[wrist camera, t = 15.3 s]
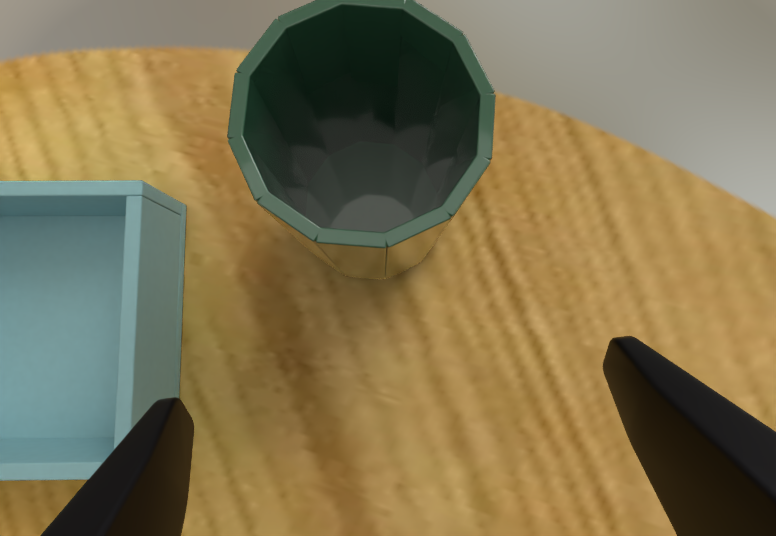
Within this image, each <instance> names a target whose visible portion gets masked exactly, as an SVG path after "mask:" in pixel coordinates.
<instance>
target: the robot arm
mask: <svg viewBox="0 0 776 536" xmlns="http://www.w3.org/2000/svg"><path fill="white" fill-rule="evenodd" d="M603 371H604V375H605V378H606V380H607V383H608V385H609V388H610V391H611V393H612V396H613V399H614V401H615V404H616V407H617V409H618V412H619V415H620V417H621V420H622V423H623V425H624V428H625V431H626V433H627V435H628V438H629V440H630V442H631V445H632V447H633V449H634V451H635V453H636V455H637V457H638V459H639V461H640V463H641V465H642V467H643V469H644V471H645V473H646V475H647V477H648V479H649V481H650V483H651V485H652V486H653V488H654V490H655V492H656V494H657V496H658V498H659V500H660V502H661V504H662V506H663V508H664V510H665V512H666V514H667V516H668V518H669V520H670V522H671V524H672V526H673V528H674V530H675V532H676V534H677V536H776V432H775V431H774V430H772V429H771V428H769V427H768V426H766V425H765V424H763V423H762V422H760V421H759V420H757V419H756V418H754V417H753V416H751V415H750V414H748V413H747V412H745V411H744V410H742V409H741V408H739V407H738V406H736V405H735V404H733V403H732V402H730V401H729V400H727V399H726V398H724V397H723V396H721V395H720V394H718V393H717V392H715V391H714V390H713V389H711V388H710V387H708V386H707V385H705V384H704V383H702V382H701V381H699V380H698V379H696V378H695V377H693V376H692V375H690V374H689V373H687V372H686V371H684V370H683V369H681V368H680V367H678V366H677V365H675V364H674V363H672V362H671V361H669V360H668V359H666V358H665V357H663V356H662V355H660V354H659V353H657V352H656V351H654V350H653V349H651V348H650V347H648V346H647V345H646V344H644V343H643V342H641V341H640V340H638V339H636V338H635V337H632V336H624V337H617V338H613V339H612V340H611V341H610V343H609V346H608V349H607V352H606V355H605V358H604V362H603ZM193 437H194V423H193V420H192V417H191V416H190V414H189V413H188V411H187V409H186V408H185V406H184V404H183V403H182V401H181V400H180V399H179V398H177V397H172V398H165V399H160V400H157V401H156V402H155V403H154V404H153V405H152V406H151V407H150V408H149V409H148V410H147V412H146V413H145V414H144V415H143V416H142V417H141V419H140V420H139V421H138V422H137V423H136V424H135V426H134V427H133V428H132V429H131V430H130V431H129V433H128V434H127V435H126V436H125V437H124V439H123V440H122V441H121V442H120V443H119V444H118V446H117V447H116V448H115V449H114V450H113V451H112V453H111V454H110V455H109V456H108V457H107V458H106V460H105V461H104V462H103V463H102V464H101V465H100V467H99V468H98V469H97V470H96V471H95V472H94V474H93V475H92V476H91V477H90V478H89V479H88V481H87V482H86V483H85V484H84V485H83V486H82V488H81V489H80V490H79V491H78V492H77V493H76V495H75V496H74V497H73V498H72V499H71V500H70V502H69V503H68V504H67V505H66V506H65V508H64V509H63V510H62V511H61V512H60V513H59V515H58V516H57V517H56V518H55V519H54V520H53V522H52V523H51V524H50V525H49V526H48V527H47V529H46V530H45V531H44V532H43V533H42V534H41V536H181V533H182V528H183V523H184V518H185V513H186V507H187V500H188V492H189V481H190V470H191V459H192V448H193Z"/></svg>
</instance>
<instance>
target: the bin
mask: <svg viewBox="0 0 776 536" xmlns="http://www.w3.org/2000/svg"><path fill="white" fill-rule="evenodd" d="M185 228H186V205H185V204H183V203H181V202H179V201H177V200H176V199H174V198H172V197H170V196H168V195H167V194H165V193H163V192H161V191H160V190H158V189H156V188H154V187H153V186H151V185H149V184H147V183H145V182H144V181H142V180H131V181H0V481H11V480H88V479H89V478H90V477H91V476H92V475H93V474H94V472H95V471H96V470H97V469H98V468H99V467H100V465H101V464H102V463H103V462H104V461H105V460H106V458H107V457H108V456H109V455H110V454H111V453H112V451H113V450H114V449H115V448H116V447H117V446H118V444H119V443H120V442H121V441H122V440H123V439H124V437H125V436H126V435H127V434H128V433H129V431H130V430H131V429H132V428H133V427H134V426H135V424H136V423H137V422H138V421H139V420H140V419H141V417H142V416H143V415H144V414H145V413H146V412H147V410H148V409H149V408H150V407H151V406H152V405H153V404H154V403H155V402H156V401H157V400H160V399H165V398H172V397H177V398H179V389H180V362H181V335H182V308H183V282H184V255H185Z"/></svg>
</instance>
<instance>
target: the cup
mask: <svg viewBox="0 0 776 536" xmlns="http://www.w3.org/2000/svg"><path fill="white" fill-rule="evenodd" d="M236 71H237V73H235V76H234V84H233V93H232V101H231V109H230V117H229V126H228V134H227V137H228V139H229V140H228V143H229V145H230V147H231V149H232V152H233V154H234V156H235V158H236V160H237V163H238V165H239V167H240V169H241V171H242V173H243V176H244V178H245V180H246V182H247V184H248V187H249V189H250V191H251V193H252V195H253V198H254V200H255V201H256V202H257V203H258V204H259V205H260V206H261V207H262V208H263V209H264V210H265V211H266V212H267V213H269V214H270V215H271V216H272V217H273V218H274V219H275V220H276V221H277V222H278V223H280V224H281V225H282V226H283V227H284V228H285V229H286V230H287V231H288V232H290V233H291V234H292V235H293V236H294V237H295V238H296V239H297V240H298V241H300V242H301V243H302V244H303V245H304V246H305V247H306V248H307V249H308V250H310V251H311V252H312V253H313V254H314V255H315V256H317V257H318V258H320V259H321V260H323V261H324V262H325V263H327V264H328V265H329V266H331V267H333V268H334V269H336V270H337V271H338V272H340V273H341V274H343V275H346V276H348V277H357V278H364V279H387V278H389V277H392V276H394V275H396V274H399V273H402V272H404V271H405V270H407V269H409V268H411V267H413V266H415V265H417V264H419V263H420V262H422V260H423V259H424V258H425V256H426V255H427V253H428V252H429V251H430V249H431V248H432V246H433V245H434V244H435V242H436V241H437V239H438V238H439V236H440V235H441V234H442V232H443V231H444V229H445V228H446V227H447V225H448V224H449V222H450V221H451V220H452V218H453V217H454V215H455V214H456V212H457V211H458V209H459V208H460V207H461V205H462V204H463V202H464V201H465V199H466V198H467V196H468V195H469V193H470V192H471V191H472V189H473V188H474V186H475V185H476V183H477V182H478V180H479V179H480V177H481V176H482V174H483V173H484V172H485V170H486V169H487V167H488V166H489V164H490V161H491V159H492V150H493V133H494V116H495V98H496V95H495V94H494V92H495V91H494V89H493V87H492V85H491V83H490V81H489V79H488V77H487V75H486V73H485V71H484V69H483V67H482V65H481V64H480V62H479V60H478V58H477V56H476V54H475V52H474V50H473V48H472V46H471V44H470V43H469V40H468V39H467V37H466V35H465V34H464V35H463V32H462V31H461V30H459V29H458V28H456V27H455V26H453V25H452V24H450V23H449V22H447V21H446V20H444V19H443V18H441V17H439V16H438V15H436V14H435V13H433V12H432V11H430V10H429V9H427V8H425V7H424V6H422V5H421V4H419V3H418V2H416V1H415V0H315V1H313V2H311V3H308V4H306V5H304V6H301V7H299V8H297V9H294V10H292V11H290V12H288V13H285V14H283V15H281V16H279V17H278V20H277V19H275V20H274V21H273V22H272V24H271V25H270V26H269V28H268V29H267V30H266V32H265V33H264V34H263V36H262V37H261V38H260V39H259V41H258V42H257V43H256V45H255V46H254V47H253V49H252V50H251V51H250V52H249V54H248V55H247V56H246V58H245V59H244V60H243V62H242V63H241V64H240V65H239V67H238V68H237V70H236Z"/></svg>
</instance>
